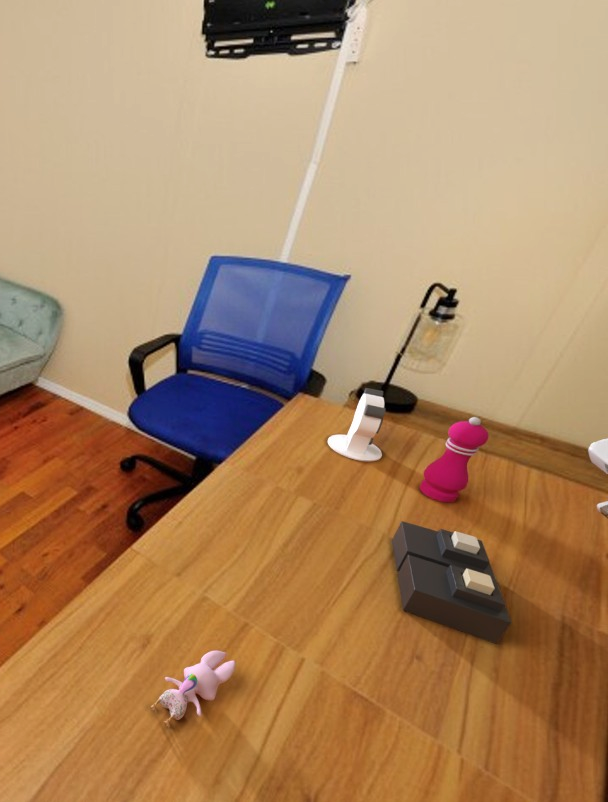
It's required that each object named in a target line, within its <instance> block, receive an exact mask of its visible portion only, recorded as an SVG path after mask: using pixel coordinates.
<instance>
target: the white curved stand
mask: <svg viewBox="0 0 608 802" xmlns="http://www.w3.org/2000/svg"><path fill="white" fill-rule="evenodd" d="M383 396H384V391H383V390H379V389H374V388H368V387H365V388H364V391H363V393H362V395H361V397H360V399H359V401H358V404H357V407H356V409H355V412H354V416H353V420H352V422H351V425H350V427H349V429H348V432H347V434H332V435H330V436H329V437H328V439H327V444H328V446H329V447H330V449H331V450H333V451H334V452H336V453H338V454H339V455H341V456H343V457H345V458H347V459H348V458H349V459H352V460H355V461H359V462H369V463H370V462H376V461H379V460H380V459H382V456H383V453H382V450H381V449H380V448H379V447H378V446H376V444H374V443H373V442H374V437H375V436H376V434H379V432H380V430H381V428H382V425H383V422H384V417H385V414H386V410H387V407H385V398H384V397H383Z"/></svg>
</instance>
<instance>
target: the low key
mask: <svg viewBox="0 0 608 802" xmlns="http://www.w3.org/2000/svg"><path fill="white" fill-rule="evenodd" d="M453 532H454V533H453V535H452V537H451V540H452V543H453V547H454V548H457V549H460V550H464V551H467V552H470V553H474V554H477V552H478V551H479V549H480V546H479V543H478V540H479V539H478V537H477V536H473V535H471V534H466V533H463V532H460V531H457V530H455V531H453ZM477 539H478V540H477Z"/></svg>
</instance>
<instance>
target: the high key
mask: <svg viewBox="0 0 608 802" xmlns="http://www.w3.org/2000/svg"><path fill="white" fill-rule="evenodd" d="M462 577H463V580H464V584H465V587H467V588H470V589H473V590H476V591H479V592H482V593H485V594H488V595H491V593H492V592H493V590H494V589H495V588H494V585H493V582H492V579H491V577H490V576H489V575H486V574H483V573H480V572H477V571H473V570H470V569H467V568H466V570H465V572H464V573H463V575H462Z"/></svg>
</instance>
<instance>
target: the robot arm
mask: <svg viewBox="0 0 608 802" xmlns="http://www.w3.org/2000/svg"><path fill="white" fill-rule="evenodd" d="M587 453H588V456H589V459H590V462H591V463H592V464H593V465H595V466H596V467H597V468H598V469H600V470H601V471H603V472H604V473H605V474H607V475H608V438H604V439H601V440H600V439H599V440H597V441H594V442H592V443H591V444H590V445H589V447H588V448H587ZM596 509H597V511H598V512H599V513H600V514H601V515H603V516H604V517H605V518H606V519H608V500H606V501H603V502H600V503H599V502H598V503H597V504H596Z"/></svg>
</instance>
